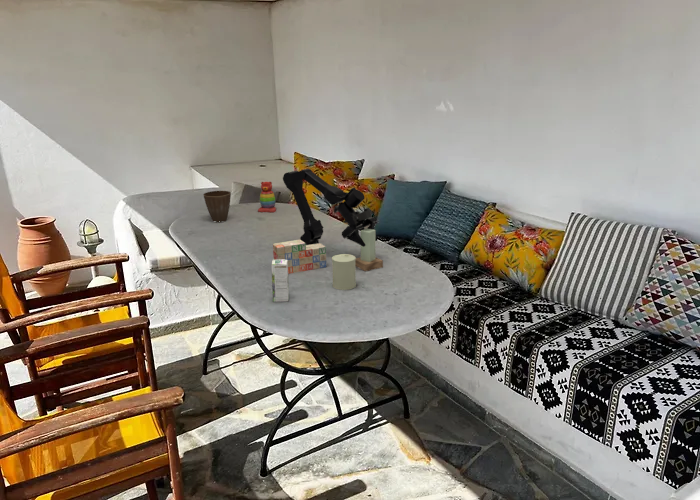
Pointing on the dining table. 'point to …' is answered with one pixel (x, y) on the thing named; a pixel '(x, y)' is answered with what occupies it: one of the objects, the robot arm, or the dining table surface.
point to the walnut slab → (368, 264)
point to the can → (344, 271)
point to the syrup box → (280, 280)
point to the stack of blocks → (300, 255)
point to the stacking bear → (267, 198)
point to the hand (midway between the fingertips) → (370, 243)
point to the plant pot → (218, 204)
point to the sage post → (368, 245)
